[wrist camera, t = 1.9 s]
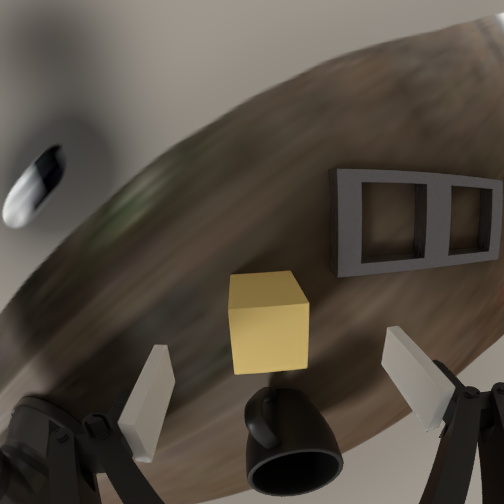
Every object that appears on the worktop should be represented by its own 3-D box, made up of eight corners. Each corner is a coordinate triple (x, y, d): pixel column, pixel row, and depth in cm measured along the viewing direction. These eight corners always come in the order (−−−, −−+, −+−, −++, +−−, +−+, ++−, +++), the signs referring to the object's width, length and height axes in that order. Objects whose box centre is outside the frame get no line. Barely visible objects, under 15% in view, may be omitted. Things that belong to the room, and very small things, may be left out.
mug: (291, 337, 26) (314, 406, 17) (329, 414, 29) (352, 477, 20) (211, 369, 27) (203, 443, 18) (263, 439, 29) (270, 504, 20)
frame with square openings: (330, 270, 25) (337, 277, 23) (329, 169, 23) (337, 168, 21) (486, 254, 26) (498, 259, 24) (490, 179, 24) (502, 180, 22)
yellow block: (234, 327, 26) (234, 374, 19) (230, 274, 25) (228, 309, 18) (290, 323, 26) (307, 368, 19) (290, 270, 25) (309, 303, 18)
